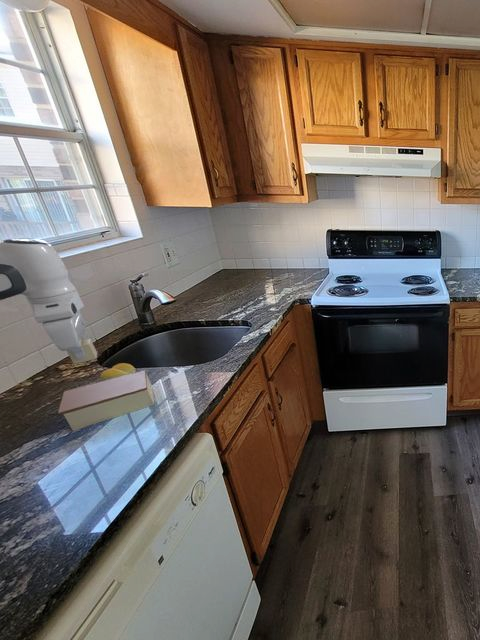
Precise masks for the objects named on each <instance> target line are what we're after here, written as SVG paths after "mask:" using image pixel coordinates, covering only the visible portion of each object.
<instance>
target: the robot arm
mask: <svg viewBox="0 0 480 640" xmlns="http://www.w3.org/2000/svg"><path fill="white" fill-rule="evenodd" d="M69 276H70V275H69V271H68V269H67V266H66V265H65V263H64V261H63V260H62V258H61V256H60V255H59V253H58V252H57V250H56V248H54V246H53V245H52V244H51V243H49V242H47V241H45V240H42V239H37V238H24V237H23V238H19V237H18V238H8V239H4V240H2V241H1V242H0V301H4V300H6V299H9V298H12V297H16V296H18V295H23V296H25V298H26V301H27V302H28V303H29V306H30V307H31V310H32V311H33V317H34V319H35V321H36V322H37V323H38V324H41V323H42V326H43V328H44V331H45V332H46V333H47V335H48V336H49V338H50V339H51V341H52V343H53V344H54V345H55V347H56V348H57V349H58V350H59V351H61V352H65V351H66V350H71V351H72V352H73V353H74V354H75V356H76V358H77V359H80V358H84V357H86V353H85V351H84V349H83V348H82V346H81V341H82V340H86V337H85V330H86V327H87V322H86V320H85V319H84V316H83V315H82V312H81V309H83V308H85V304H84V302H83V300H82V298H81V296H80V294H79V292H78V290H77V287H76V286H75V285H74V284H73V283H72V281H71V280H70V277H69ZM66 352H67V351H66Z"/></svg>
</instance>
